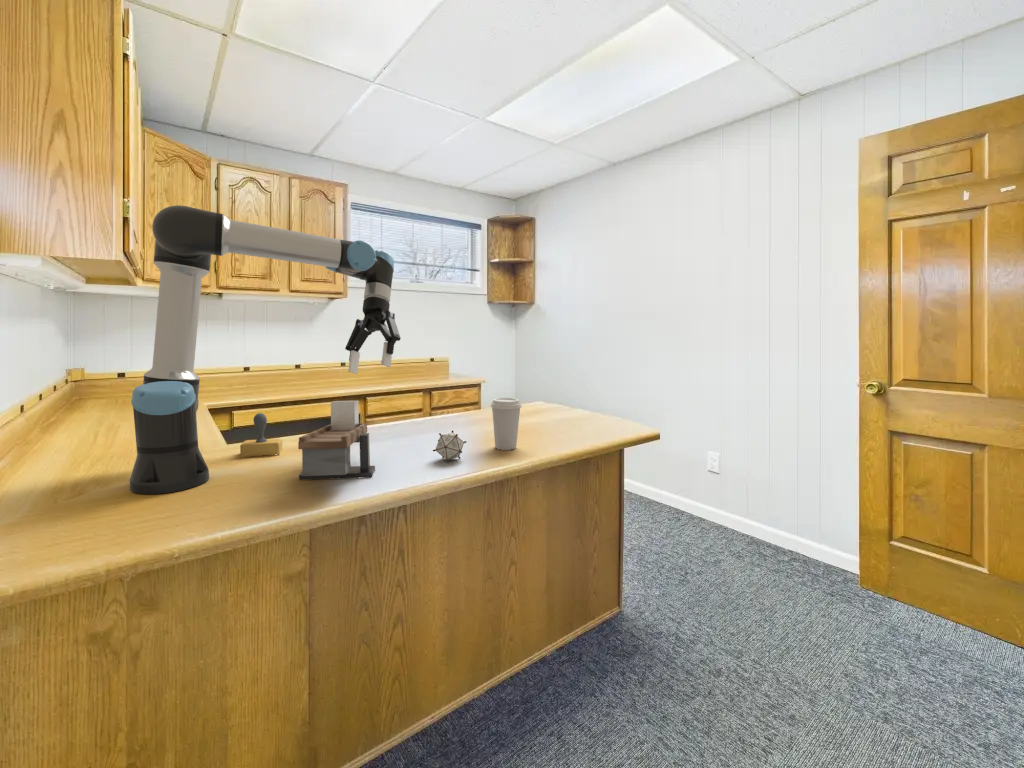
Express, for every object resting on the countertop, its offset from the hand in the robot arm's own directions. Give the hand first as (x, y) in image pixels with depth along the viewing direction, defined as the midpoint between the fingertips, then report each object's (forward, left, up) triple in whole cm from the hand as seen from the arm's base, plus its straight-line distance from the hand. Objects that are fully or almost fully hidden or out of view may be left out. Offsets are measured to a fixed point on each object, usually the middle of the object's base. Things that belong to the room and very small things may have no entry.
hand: (369, 369), depth 137 cm
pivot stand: (+11, -16, -25) cm, 32 cm away
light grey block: (+4, -10, -15) cm, 19 cm away
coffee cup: (+23, +33, -25) cm, 47 cm away
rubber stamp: (-23, -21, -25) cm, 40 cm away
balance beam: (+12, -17, -22) cm, 30 cm away
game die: (+21, +12, -25) cm, 35 cm away
